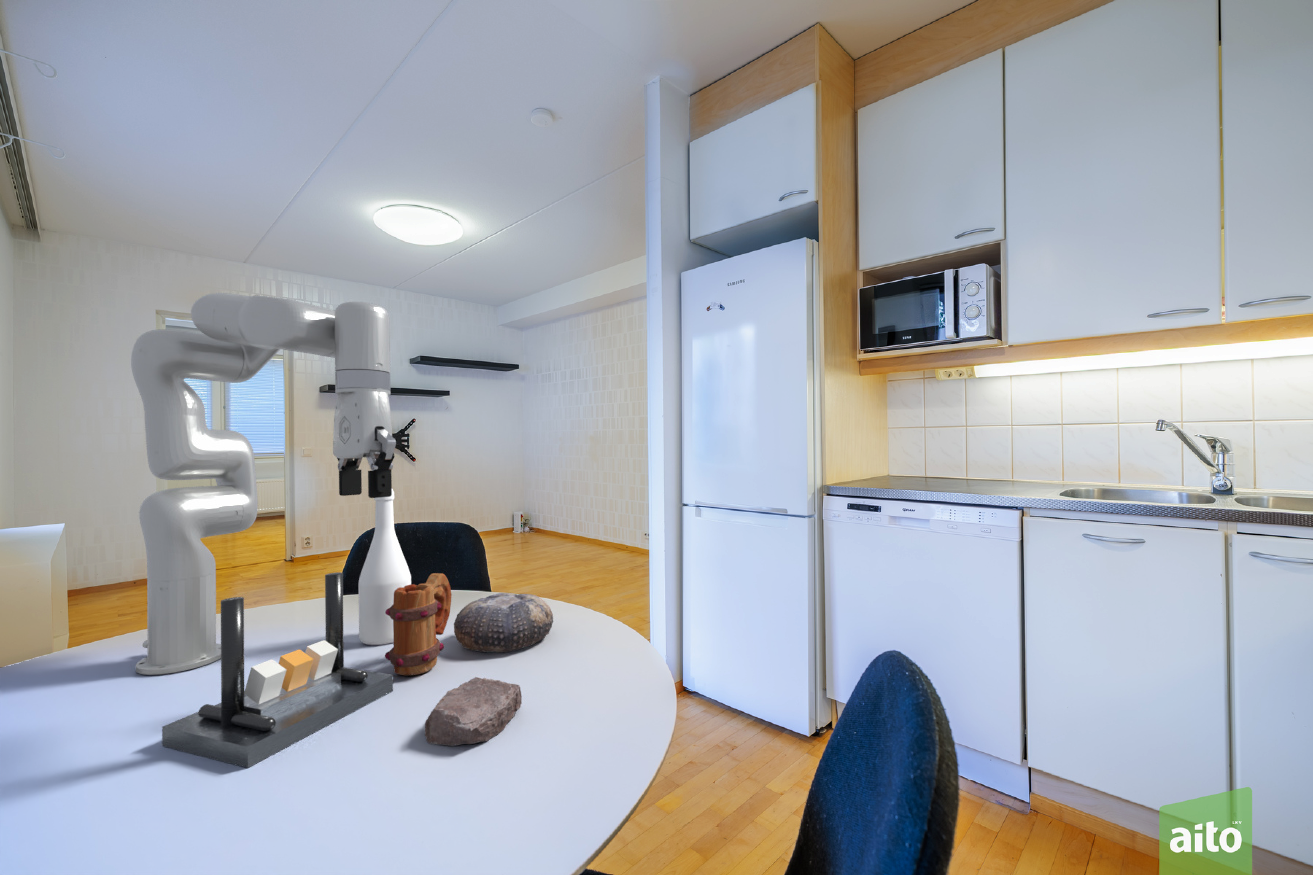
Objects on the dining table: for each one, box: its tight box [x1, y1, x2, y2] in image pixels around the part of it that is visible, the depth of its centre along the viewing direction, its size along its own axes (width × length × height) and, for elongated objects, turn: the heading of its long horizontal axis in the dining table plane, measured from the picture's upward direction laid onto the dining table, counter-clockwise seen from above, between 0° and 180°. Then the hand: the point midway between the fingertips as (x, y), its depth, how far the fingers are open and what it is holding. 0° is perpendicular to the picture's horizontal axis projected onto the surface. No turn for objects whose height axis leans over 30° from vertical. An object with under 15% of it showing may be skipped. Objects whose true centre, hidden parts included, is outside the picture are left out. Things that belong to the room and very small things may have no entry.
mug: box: [384, 572, 453, 677], centre depth 97 cm, size 15×8×15 cm, turn 168°
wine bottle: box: [358, 488, 412, 646], centre depth 112 cm, size 10×10×30 cm
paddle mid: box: [278, 649, 313, 692], centre depth 79 cm, size 3×3×4 cm
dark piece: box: [161, 572, 394, 769], centre depth 79 cm, size 16×22×18 cm
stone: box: [424, 676, 523, 747], centre depth 75 cm, size 12×9×5 cm
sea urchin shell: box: [453, 592, 554, 653], centre depth 109 cm, size 19×19×10 cm
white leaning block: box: [304, 639, 338, 680], centre depth 83 cm, size 3×3×4 cm
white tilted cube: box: [244, 659, 286, 705], centre depth 75 cm, size 3×3×4 cm
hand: (364, 496), depth 85 cm, fingers open, 9 cm apart
